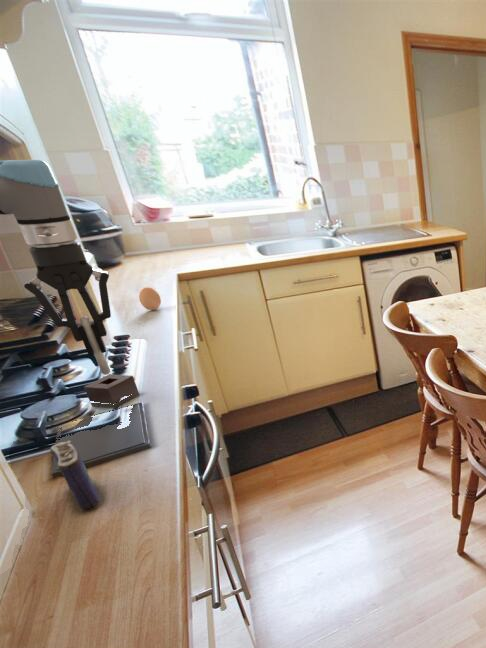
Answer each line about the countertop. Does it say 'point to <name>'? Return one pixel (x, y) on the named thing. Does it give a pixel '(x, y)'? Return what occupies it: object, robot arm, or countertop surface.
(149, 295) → the egg
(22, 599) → the countertop surface
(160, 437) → the countertop surface
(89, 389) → the holder
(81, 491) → the flask
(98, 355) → the stylus
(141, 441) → the plate
